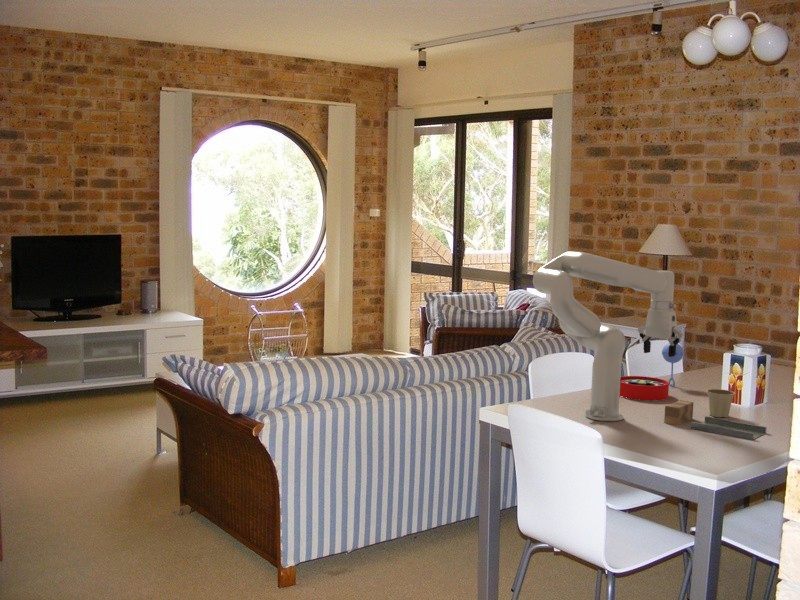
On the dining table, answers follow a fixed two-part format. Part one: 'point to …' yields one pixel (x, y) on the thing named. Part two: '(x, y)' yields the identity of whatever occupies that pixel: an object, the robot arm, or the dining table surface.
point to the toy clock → (644, 388)
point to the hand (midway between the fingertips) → (659, 354)
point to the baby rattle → (672, 358)
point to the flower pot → (720, 402)
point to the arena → (730, 428)
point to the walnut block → (678, 412)
